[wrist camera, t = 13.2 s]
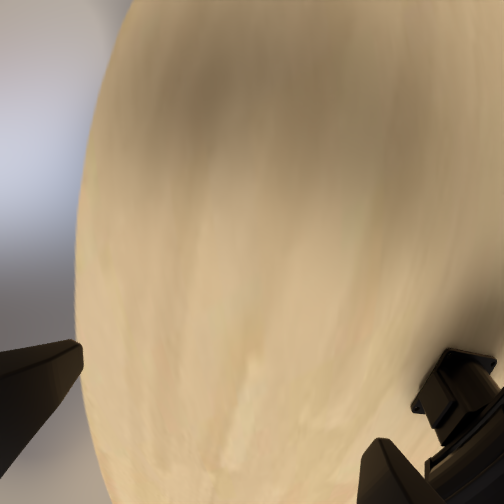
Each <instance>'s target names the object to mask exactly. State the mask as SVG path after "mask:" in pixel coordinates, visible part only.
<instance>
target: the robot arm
mask: <svg viewBox="0 0 504 504" xmlns="http://www.w3.org/2000/svg"><path fill="white" fill-rule="evenodd" d="M450 353H451V354H450ZM448 354H450V355H449V356H448ZM496 364H497V360H496V359H495V358H494V357H491V356H486V355H481V354H476V353H472V352H467V351H462V350H458V349H453V348H448V349H446V350H445V351H444V353H443V354H442V356H441V358H440V360H439V362H438V363H437V365H436V367H435V369H434V370H433V372H432V374H431V375H430V377H429V379H428V380H427V382H426V384H425V385H424V387H423V389H422V390H421V392H420V393H419V395H418V396H417V398H416V399H415V401H414V403H413V404H412V406H411V411H412V412H413V413H417V414H426V416H427V418H428V421H429V423H430V426H431V428H432V429H435V432H436V434H437V437H438V439H439V442H440V444H441V446H445V447H444V448H443V449H441V450H440V451H439V452H438V453H437V454H435V455H434V456H433V457H432V458H431V457H430V458H429V459H428V460H427V461H425V479H424V478H423V477H422V475H421V474H420V473H419V472H418V471H417V470H416V469H415V468H414V466H413V465H412V464H411V463H410V462H409V461H408V460H407V458H406V457H405V456H404V455H403V454H402V453H401V451H400V450H399V449H398V448H397V447H396V446H395V445H394V443H393V442H392V441H391V440H390V439H388V438H376V439H375V440H374V441H373V442H372V443H371V445H370V446H369V447H368V448H367V450H366V451H365V452H364V454H363V455H362V458H361V465H360V476H359V485H358V494H357V504H504V387H503V388H502V389H500V388H499V386H498V385H497V384H496V382H495V381H494V380H493V379H492V377H491V376H490V374H491V372H492V371H493V369H494V367H495V366H496ZM83 367H84V361H83V347H82V345H81V344H80V343H78V342H76V341H74V340H72V339H68V340H63V341H58V342H53V343H47V344H42V345H37V346H31V347H26V348H20V349H15V350H10V351H3V352H0V479H1V477H2V476H3V475H4V473H5V472H6V471H7V469H8V468H9V467H10V466H11V464H12V463H13V462H14V460H15V459H16V458H17V457H18V455H19V454H20V453H21V452H22V450H23V449H24V448H25V447H26V445H27V444H28V443H29V441H30V440H31V439H32V438H33V436H34V435H35V434H36V433H37V432H38V430H39V429H40V428H41V427H42V426H43V424H44V423H45V422H46V421H47V419H48V418H49V417H50V416H51V415H52V413H53V412H54V411H55V410H56V409H57V407H58V406H59V405H60V403H61V402H62V401H63V399H64V397H65V396H66V395H67V393H68V392H69V390H70V388H71V387H72V385H73V384H74V382H75V381H76V379H77V378H78V376H79V375H80V374H81V372H82V370H83ZM416 407H417V408H416Z"/></svg>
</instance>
